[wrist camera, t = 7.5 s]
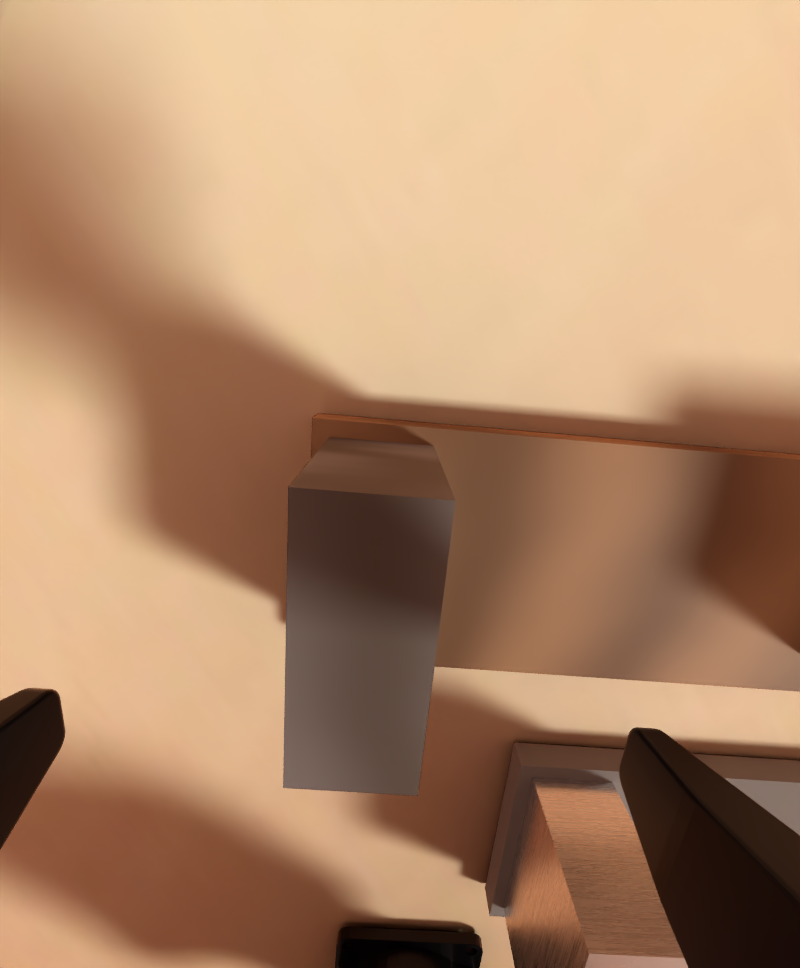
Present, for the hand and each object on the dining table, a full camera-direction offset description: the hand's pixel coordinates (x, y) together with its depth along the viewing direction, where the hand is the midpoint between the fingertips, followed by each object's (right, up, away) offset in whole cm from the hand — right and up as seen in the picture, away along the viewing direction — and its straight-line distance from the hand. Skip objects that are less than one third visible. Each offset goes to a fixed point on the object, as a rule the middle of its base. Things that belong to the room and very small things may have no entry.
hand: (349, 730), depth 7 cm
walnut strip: (+9, +1, +8) cm, 12 cm away
